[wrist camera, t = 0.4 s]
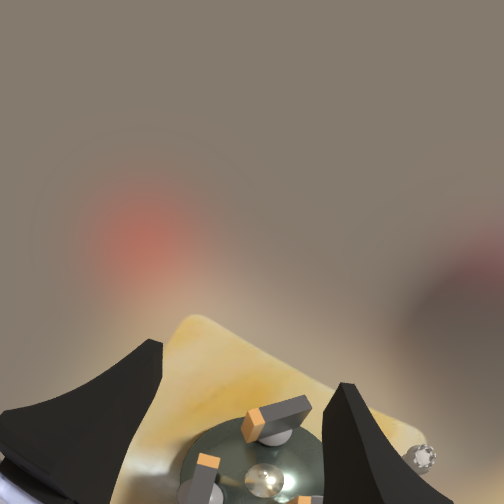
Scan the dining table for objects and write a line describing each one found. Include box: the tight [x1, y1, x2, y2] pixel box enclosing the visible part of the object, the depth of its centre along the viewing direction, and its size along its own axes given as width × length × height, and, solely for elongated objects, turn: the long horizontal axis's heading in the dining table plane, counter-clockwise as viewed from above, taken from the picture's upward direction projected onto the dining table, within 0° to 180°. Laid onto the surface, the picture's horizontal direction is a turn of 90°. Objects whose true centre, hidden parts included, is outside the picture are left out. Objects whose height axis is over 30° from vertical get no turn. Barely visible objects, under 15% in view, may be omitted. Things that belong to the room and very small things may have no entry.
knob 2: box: [241, 395, 312, 446], centre depth 25 cm, size 6×4×5 cm
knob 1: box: [177, 453, 223, 504], centre depth 18 cm, size 6×4×5 cm
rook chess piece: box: [402, 444, 436, 475], centre depth 20 cm, size 4×4×8 cm
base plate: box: [180, 417, 324, 504], centre depth 22 cm, size 15×15×2 cm
